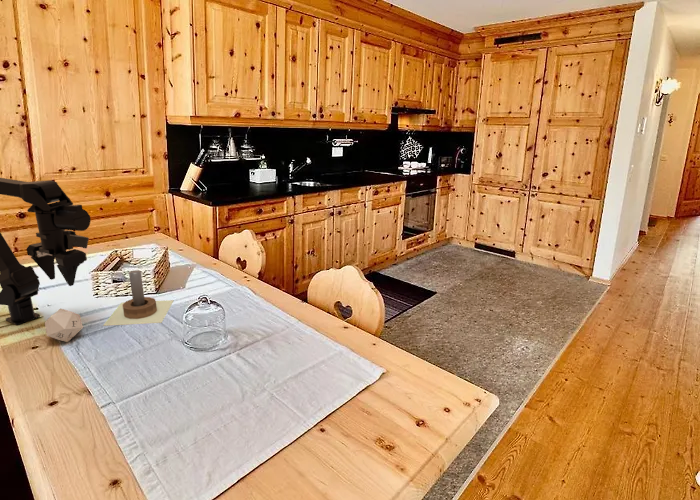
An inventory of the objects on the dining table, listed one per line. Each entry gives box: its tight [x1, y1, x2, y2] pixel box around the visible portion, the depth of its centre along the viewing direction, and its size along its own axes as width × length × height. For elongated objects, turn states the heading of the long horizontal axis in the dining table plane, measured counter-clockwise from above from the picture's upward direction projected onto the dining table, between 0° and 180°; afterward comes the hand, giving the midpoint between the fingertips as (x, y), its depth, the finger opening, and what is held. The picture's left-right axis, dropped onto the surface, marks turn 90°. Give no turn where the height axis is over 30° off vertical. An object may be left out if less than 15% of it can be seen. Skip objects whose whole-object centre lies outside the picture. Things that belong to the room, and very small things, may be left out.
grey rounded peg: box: [128, 269, 145, 307], centre depth 133 cm, size 3×3×13 cm
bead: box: [123, 296, 157, 319], centre depth 135 cm, size 9×9×3 cm
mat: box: [102, 299, 174, 327], centre depth 136 cm, size 16×16×1 cm
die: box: [44, 308, 84, 343], centre depth 120 cm, size 8×9×10 cm
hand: (61, 282), depth 124 cm, fingers open, 9 cm apart
